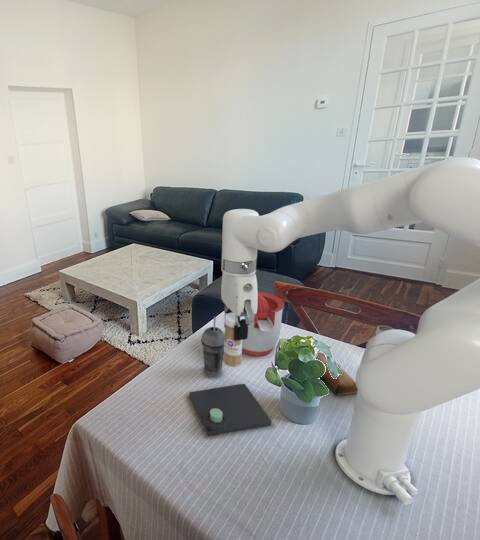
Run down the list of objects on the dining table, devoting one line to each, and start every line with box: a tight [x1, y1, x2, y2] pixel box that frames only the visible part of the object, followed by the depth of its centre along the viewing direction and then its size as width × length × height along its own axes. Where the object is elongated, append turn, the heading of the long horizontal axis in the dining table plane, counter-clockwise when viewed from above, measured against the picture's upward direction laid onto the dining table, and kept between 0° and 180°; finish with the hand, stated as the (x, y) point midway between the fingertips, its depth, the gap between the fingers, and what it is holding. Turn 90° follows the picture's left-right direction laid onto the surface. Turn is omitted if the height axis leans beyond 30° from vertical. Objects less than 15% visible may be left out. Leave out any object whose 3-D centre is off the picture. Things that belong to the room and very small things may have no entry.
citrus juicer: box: [241, 291, 285, 357], centre depth 109 cm, size 16×17×20 cm
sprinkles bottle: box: [223, 312, 245, 368], centre depth 84 cm, size 5×5×14 cm
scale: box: [189, 383, 272, 437], centre depth 87 cm, size 14×16×3 cm
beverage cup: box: [200, 316, 225, 379], centre depth 99 cm, size 7×7×20 cm
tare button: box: [210, 408, 223, 423], centre depth 82 cm, size 3×3×2 cm
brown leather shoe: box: [316, 352, 358, 396], centre depth 97 cm, size 18×7×7 cm
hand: (235, 332), depth 83 cm, fingers closed on sprinkles bottle, 4 cm apart
